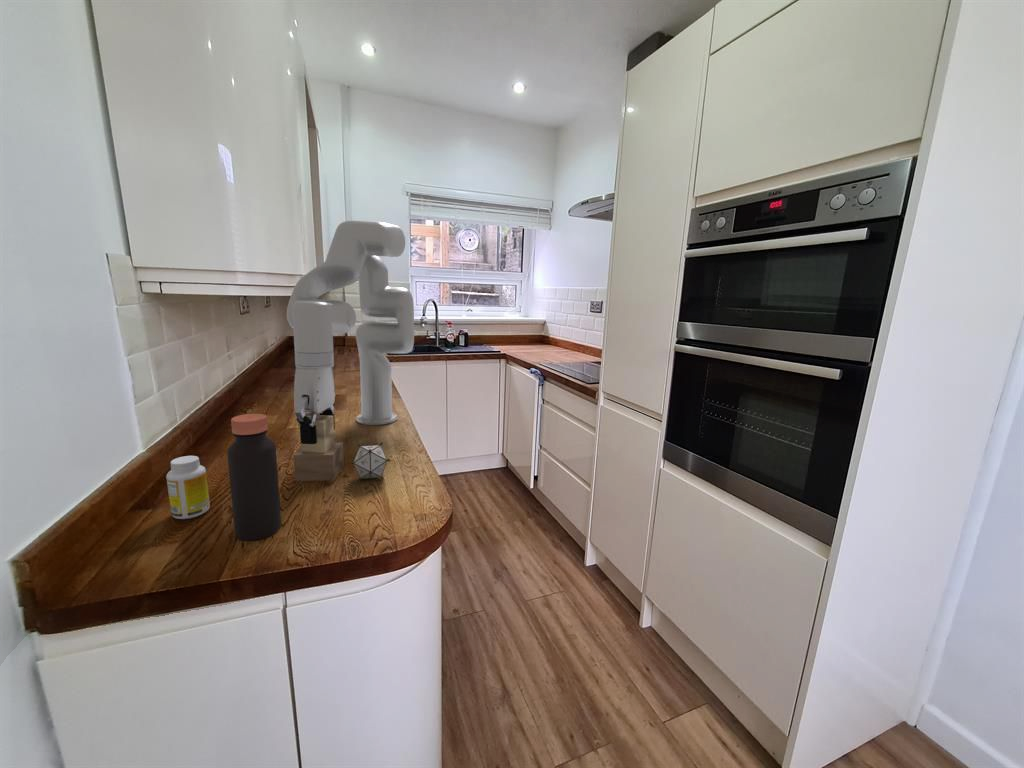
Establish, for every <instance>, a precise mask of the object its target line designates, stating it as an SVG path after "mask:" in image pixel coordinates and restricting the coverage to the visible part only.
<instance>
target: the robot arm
mask: <svg viewBox="0 0 1024 768" xmlns="http://www.w3.org/2000/svg"><path fill="white" fill-rule="evenodd" d="M405 249H406V236H405V234H404V231H403V230H402V228H401V227H400V226H398V225H395V224H391V223H387V222H382V221H370V220H369V221H368V220H345V221H343V222H341V223H339V225H337V228H336V229H335V232H334V234H333V238H332V239H331V243H330V246H329V249H328V252H327V254H326V258H325V260H324V262H323V263H321V264H319V265H317V266H316V267H314V268H313V269H311V270H310V271H309V272H307V273H306V274H304V275H303V276H302V277H301V278H300V279H298V281H297V282H296V284H295V285H294V287H293V290H292V293H291V295H290V298H289V301H288V305H287V308H286V319H287V323H288V324H289V326H290V327H291V328H292V329H293V344H294V363H295V371H294V381H293V382H294V383H293V385H294V386H293V403H294V405H293V407H294V414H295V417H296V420H297V423H298V427H299V434H300V435H299V437H300V444H301V445H302V444H316V443H317V431H316V425H314V423H315V419H316V415H328V416H333V419H334V430H335V429H336V427H335V426H336V425H335V410H336V409H335V404H336V401H335V400H336V399H335V398H336V391H335V389H336V388H335V380H334V379H335V378H334V371H333V367H334V366H335V355H334V335H333V334H335V335H336V334H337V335H338V334H340V335H341V334H342V335H343V334H345V333H346V334H347V333H348V332H350V331H352V330H353V328H354V327H355V324H356V320H357V313H356V311H355V309H354V308H353V306H352V305H351V304H350V303H348V302H346V301H342V300H339V299H338V300H335V299H322V298H321V299H319V297H320V296H323V295H324V294H326V293H329V292H333V291H335V290H339V289H342V288H345V287H347V286H350V285H353V284H354V283H356V282H357V281H358V284H359V285H358V287H359V288H358V290H359V293H358V294H359V307H360V311H361V313H362V315H364V316H365V317H368V318H378V319H379V318H380V319H394V320H396V321H397V322H387V321H366V322H363V323H361V324H359V325H358V326H357V328H356V331H355V341H356V345H357V349H358V356H359V371H360V372H359V374H360V376H359V377H360V379H359V380H360V404H361V405H360V407H361V409H360V411H361V413H360V414H358V415H357V416H356V418H355V419H356V422H357V423H359V424H361V425H366V426H367V425H368V426H381V425H387V424H391V423H394V422H396V421H397V420H398V415H397V414H396V413H395V412H393V399H392V398H393V384H392V383H393V382H392V381H393V380H392V379H393V378H392V374H393V373H392V372H393V371H392V369H393V368H392V364H391V362H390V360H389V359H388V358H387V356H386V355H385V354H408V353H410V352H411V351H412V350H413V348H414V346H415V345H414V344H415V306H414V298H413V295H412V292H411V291H410V290H409V289H408V288H405V287H402V286H401V287H398V286H390V285H389V269H388V267H387V265H386V264H385V262H384V261H383V259H382V258H381V257H389V258H395V257H396V258H397V257H400V256H402V254H403V253H404V251H405ZM308 416H311V418H310V419H309V418H308Z"/></svg>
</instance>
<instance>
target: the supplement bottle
mask: <svg viewBox="0 0 1024 768" xmlns="http://www.w3.org/2000/svg"><path fill="white" fill-rule="evenodd" d="M165 477H166V485H167V491H168V493H167V494H168V498H169V506H170V512H171V513H170V514H171V516H172V517H173V518H174V519H178V520H186V519H187V520H188V519H193V518H196V517H197V518H198V517H199V516H201V515H204V514H205V513H206V512H207V511H209V509H210V506H211V504H210V496H209V495H210V493H209V487H208V486H209V485H208V479H207V471H206V467H205V466H203V465H201V463H200V458H199V456H197V455H186V456H185V455H184V456H179V457H176V458H174V459H172V460H171V461H170V470H169V471H168V472H167V474H166V476H165Z"/></svg>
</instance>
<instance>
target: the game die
mask: <svg viewBox="0 0 1024 768" xmlns="http://www.w3.org/2000/svg"><path fill="white" fill-rule="evenodd" d="M382 445H383V441H381V442H380V443H379V444H375V445H374V444H373V445H371V444H370V445H361V444H360V443H358V442H357V445H356V446H357V447H358V448H357V452H356V454H355V456H354V459H353V461H350V462H349V465H353V467H354V468H355V471H356V474H357V475H358V480H357V482H358V483H360V482H361V480H363V479H364V480H365V479H374V478H375V479H376V478H380V480H383V481H384V477H383V474H384V471H385V469H386V466H387V464H388V462H391V459H390V458H387V456H386V453H385V452H384V449H383V446H382Z"/></svg>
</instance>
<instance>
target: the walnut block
mask: <svg viewBox="0 0 1024 768" xmlns="http://www.w3.org/2000/svg"><path fill="white" fill-rule="evenodd" d="M344 463H345V462H344V442H342V441H341V442H335V445H334V446H333V447H332V448H330V449H329V450H328V451H327V452H326V453H316V452H302V447H301V448H299V449H298V450H297V451H296V452H295V453H294V454H293V465H294V466H293V469H294V481H295V482H297V481H301V482H303V481H306V482H307V481H308V482H310V481H311V482H312V481H335V479H336V478H337V476H338V475H339V473H340V472H341V470H342V469H343V467H344V466H345V465H344Z"/></svg>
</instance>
